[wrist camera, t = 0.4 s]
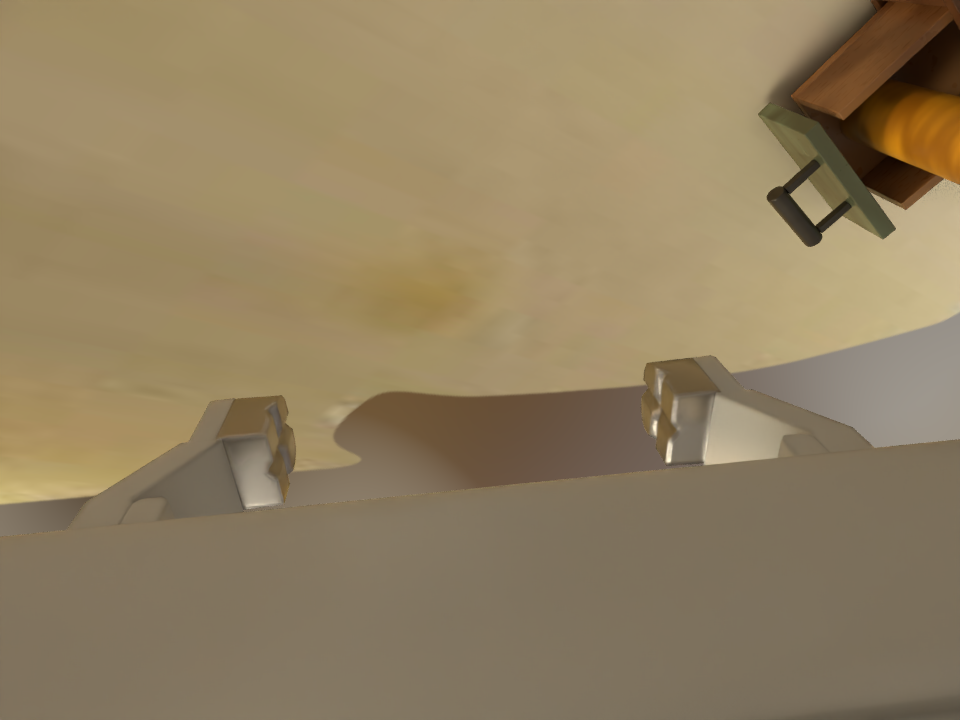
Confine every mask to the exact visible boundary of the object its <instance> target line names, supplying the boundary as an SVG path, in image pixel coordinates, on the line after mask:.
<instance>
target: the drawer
mask: <svg viewBox="0 0 960 720" xmlns="http://www.w3.org/2000/svg"><path fill="white" fill-rule="evenodd" d="M888 79H892V80H896V81H900V82H904V83H908V84H912V85H916V86H920V87H924V88H928V89H932V90H935V91H939V92H943V93H947V94H951V95H955V96H959V97H960V30H959V28H958V26H957V24H956V22H955V20H954V18H953V16H952V15H951V13H950V11H949V9H948V7H942V6H932V5H922V4H912V3H902V2H892V1H888V2H887V3H886V4H885V5H884V6H883V7H882V8H881V9H880V10H879V11H878V12H877V13H876V14H875V15H874V16H873V17H872V18H871V19H870V20H869V21H868V22H867V23H866V24H865V25H864V26H863V27H861V28H860V29H859V30H858V31H857V32H856V33H855V34H854V35H853V36H852V37H851V38H850V39H849V40H848V41H847V42H846V43H845V44H844V45H843V46H842V47H841V48H840V49H839V50H838V51H837V52H836V53H835V54H833V55H832V56H831V57H830V58H829V59H828V60H827V61H826V62H825V63H824V64H823V65H822V66H821V67H820V68H819V69H818V70H817V71H816V72H815V73H814V74H813V75H812V76H811V77H810V78H809V79H808V80H807V81H806V82H804V83H803V84H802V85H801V86H800V87H799V88H798V89H797V90H796V91H795V92H794V93H793V94H792V95H791V97H792V98H793V100H794V101H795V102H796V104H797V105H798V106H799V108H800V109H801V110H802V112H803V113H804V114H805V116H806V117H805V116H802V115H800V114H797V113H795V112H792V111H790V110H787V109H785V108H782V107H780V106H777V105H775V104H772V103H769V104H768V105H767V106H766V107H765V108H764V109H763V110H762V111H761V112H760V113H759V114H758V115H759V116H760V118H761V119H762V120H763V121H764V123H765V124H766V125H767V127H768V128H769V129H770V130H771V132H772V133H773V134H774V136H775V137H776V138H777V139H778V141H779V142H780V143H781V144H782V146H783V147H784V148H785V150H786V151H787V152H788V153H789V155H790V156H791V157H792V159H793V160H794V161H795V162H796V164H797V165H798V166H799V167H800V169H801V171H799V172H798V173H797V174H796V175H795V176H794V177H793V178H792V179H791V180H790V181H788V182H787V183H786V184H785V185H784V186H783V187H781V186H779V187H776V188H774V189H772V190H771V191H770V192H769V193H768V195H767V200H768V202H769V203H770V204H771V205H772V206H773V207H774V209H775V210H776V211H777V212H778V213H779V215H780V216H781V217H782V218H783V219H784V220H785V222H786V223H787V224H788V225H789V226H790V227H791V229H792V230H793V231H794V232H795V233H796V235H797V236H798V237H799V238H800V239H801V240H802V242H803V243H804V244H805V245H806V246H808V247H811V246H815V245H816V244H818V243H819V242H820V241H821V239H822V234H821V233H823V232H824V231H825V230H826V229H827V228H829V227H830V226H831V225H832V224H833V223H834V222H836V221H837V220H838V219H839V218H840V217H841V216H844V217H845V218H847V219H849V220H851V221H852V222H854V223H856V224H857V225H859V226H861V227H862V228H864V229H866V230H868V231H869V232H871V233H873V234H874V235H876V236H878V237H880V238H881V239H884V238H886V237H887V236H888V235H889V234H891V233H892V232H893V231H894V230H895V229H896V228H895V226H894V225H893V224H892V222H891V221H890V220H889V218H888V217H887V215H886V214H885V213H884V211H883V210H882V209H881V207H880V206H879V204H878V203H877V202H876V200H875V199H874V197H873V196H872V195H871V193H873V194H875V195H877V196H879V197H881V198H883V199H885V200H887V201H889V202H891V203H893V204H895V205H897V206H899V207H901V208H903V209H905V210H906V209H908V208H909V207H910V206H911V205H913V204H914V203H915V202H916V201H917V200H919V199H920V198H921V197H922V196H923V195H925V194H926V193H927V192H928V191H929V190H931V189H932V188H933V187H934V186H936V185H937V184H938V183H939V182H940V181H942V180H943V179H944V178H942V177H940V176H937V175H935V174H932V173H930V172H928V171H925V170H923V169H920V168H918V167H915V166H913V165H911V164H908V163H906V162H903V161H901V160H898V159H896V158H893V157H891V156H889V155H886V154H884V153H881V152H879V151H876V150H874V149H872V148H869V147H867V146H864V145H862V144H859V143H857V142H854V141H852V140H850V139H848V138H847V137H845V135H844V134H843V133H842V131H841V128H840V122H839V120H840V119H842V120H844V119H845V118H847V117H848V116H849V115H850V114H851V113H852V112H853V111H854V110H855V109H856V108H857V107H859V106H860V105H861V104H862V103H863V102H864V101H865V100H866V99H867V98H868V97H869V96H871V95H872V94H873V93H874V92H875V91H876V90H877V89H878V88H879V87H880V86H881V85H883V84H884V83H885V82H886V81H887V80H888ZM807 178H808V179H809V180H810V182H811V183H812V184H813V185H814V187H815V188H816V189H817V191H818V192H819V193H820V194H821V196H822V197H823V198H824V199H825V201H826V202H827V203H828V205H829V206H830V207H831V208H832V210H833V211H832V212H831V213H830V214H828V215H827V216H826V217H825V218H824V219H823V220H821V221H820V222H819V223H818V224H817V225H816V226H815V225H814V224H813V223H812V222H811V220H810V219H809V218H808V217H807V215H806V214H805V213H804V212H803V211H802V209H801V208H800V207H799V206H798V204H797V203H796V202H795V201H794V200H793V198H792V197H791V196H790V195H789V194H791V193H792V192H793V191H794V190H795V189H796V188H797V187H798V186H799V185H801V184H802V183H803V182H804V181H805V180H806V179H807ZM870 192H871V193H870ZM820 232H821V233H820Z"/></svg>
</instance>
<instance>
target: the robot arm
mask: <svg viewBox="0 0 960 720" xmlns="http://www.w3.org/2000/svg"><path fill="white" fill-rule="evenodd" d="M643 380H644V381H645V383H646V385H647V386H648V389H647V391H646V392H645V393H644V394H643V396H642V401H641V413H642V421H643V424H644V427H645V429H646V431H647V433H648V435H649V436H651V437H653V438H654V439H656V449H657V451H658V452H659V454H660V456H661V458H662V459H663V461H664V463H665V464H666V466H672V465H686V464H699V463H704V465H702V466H692V467H682V468H672V469H664V470H663V469H662V470H653V471H643V472H634V473H623V474H613V475H603V476H595V477H584V478H574V479H564V480H554V481H545V482H535V483H525V484H515V485H506V486H495V487H485V488H476V489H465V490H456V491H446V492H436V493H427V494H417V495H407V496H397V497H387V498H377V499H367V500H357V501H347V502H338V503H327V504H317V505H307V506H298V507H288V508H279V509H268V510H258V511H250V512H244V511H243V510H246V509H253V508H261V507H269V506H277V505H284V503H285V499H286V496H287V492H288V488H289V484H290V483H289V479H288V474H289V473H291V472H292V471H293V469H294V465H295V457H296V446H295V438H294V434H293V429H292V428H291V427H289V426H288V425H287V424H286V423H285V422H286V419H287V416H288V409H287V405H286V401H285V399H284V397H283V396H282V395H280V396H266V397H252V398H238V399H234V398H233V399H224V400H215V401H212V402H210V403H209V404H208V406H207V408H206V410H205V412H204V414H203V416H202V417H201V419H200V421H199V423H198V425H197V427H196V429H195V431H194V432H193V434H192V436H191V438H190V440H189V442H187V443H181V444H179V445H177V446H176V447H174V448H172V449H171V450H169V451H168V452H166V453H164V454H163V455H161V456H160V457H158V458H156V459H155V460H153V461H152V462H150V463H148V464H147V465H145V466H143V467H142V468H140V469H139V470H137V471H135V472H134V473H132V474H131V475H129V476H127V477H126V478H124V479H122V480H121V481H119V482H118V483H116V484H114V485H113V486H111V487H110V488H108V489H106V490H105V491H103V492H102V493H100V494H98V495H97V496H95V497H93V498H92V499H90V500H89V501H87V502H85V503H84V505H83V506H82V508H81V509H80V511H79V512H78V514H77V515H76V517H75V518H74V519H73V521H72V522H71V524H70V525H69V527H68V528H67V530H62V531H52V532H42V533H33V534H22V535H13V536H2V537H0V720H960V439H959V440H948V441H938V442H929V443H918V444H909V445H899V446H890V447H879V448H874V447H873V446H872V445H871V444H870V443H869V442H868V441H867V440H866V439H865V438H864V437H862V436H861V435H860V434H859V433H858V432H857V431H856V430H855V429H854V428H853V427H850V426H847V425H845V424H842V423H840V422H837V421H834V420H832V419H829V418H827V417H824V416H821V415H818V414H816V413H813V412H811V411H808V410H805V409H802V408H800V407H797V406H794V405H792V404H789V403H787V402H784V401H781V400H779V399H776V398H773V397H771V396H768V395H765V394H763V393H760V392H758V391H755V390H752V389H751V390H745V389H744V388H743V387H742V386H741V385H740V383H739V382H738V381H737V380H736V379H735V378H734V377H733V376H732V375H731V374H730V373H729V371H728V370H727V369H726V368H725V367H724V366H723V365H722V364H721V363H720V362H719V361H718V359H717V358H716V357H714V356H711V355H709V356H702V357H694V358H685V359H676V360H668V361H659V362H651V363H647V364H646V367H645V370H644V379H643Z"/></svg>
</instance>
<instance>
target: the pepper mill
mask: <svg viewBox="0 0 960 720" xmlns="http://www.w3.org/2000/svg"><path fill="white" fill-rule="evenodd" d="M839 122H840V128H841V131H842V133H843V134H844V135H845V137H847V138H848V139H850V140H852V141H854V142H857V143H859V144H862V145H864V146H867V147H869V148H872V149H874V150H876V151H879V152H881V153H884V154H886V155H889V156H891V157H893V158H896V159H898V160H901V161H903V162H906V163H908V164H911V165H913V166H915V167H918V168H920V169H923V170H925V171H928V172H930V173H932V174H935V175H937V176H940V177H942V178H945V179H947V180H949V181H952V182H954V183H957V184H959V185H960V97H959V96H955V95H951V94H947V93H943V92H939V91H935V90H932V89H928V88H924V87H920V86H916V85H912V84H908V83H904V82H900V81H896V80H892V79H888V80H887V81H886V82H885V83H884V84H883V85H881V86H880V87H879V88H878V89H877V90H876V91H875V92H874V93H873V94H872V95H871V96H869V97H868V98H867V99H866V100H865V101H864V102H863V103H862V104H861V105H860V106H859V107H857V108H856V109H855V110H854V111H853V112H852V113H851V114H850V115H849V116H848V117H847V118H845V119H844V120H842V119H840V120H839Z"/></svg>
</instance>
